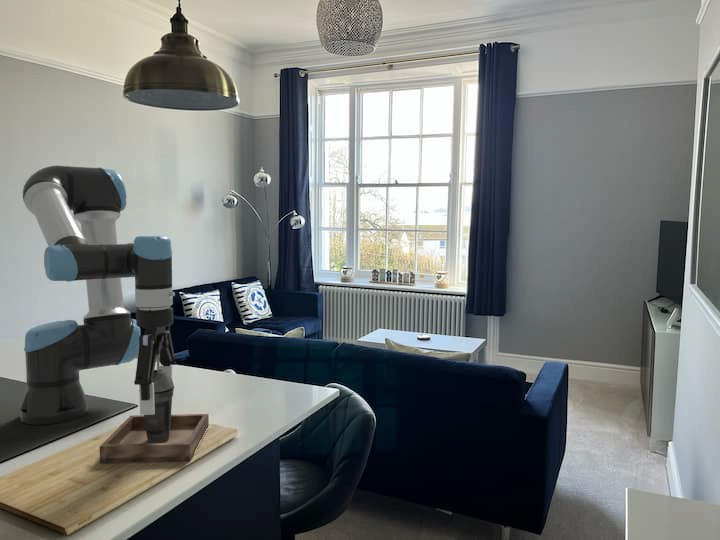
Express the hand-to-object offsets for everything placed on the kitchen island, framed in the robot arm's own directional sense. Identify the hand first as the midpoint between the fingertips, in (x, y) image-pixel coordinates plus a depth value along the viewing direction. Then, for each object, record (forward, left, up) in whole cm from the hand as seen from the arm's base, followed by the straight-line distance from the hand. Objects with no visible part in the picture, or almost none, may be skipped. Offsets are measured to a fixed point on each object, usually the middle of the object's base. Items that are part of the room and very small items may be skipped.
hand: (157, 403), depth 119 cm
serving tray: (0, 0, -9) cm, 9 cm away
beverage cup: (0, 0, -8) cm, 8 cm away
